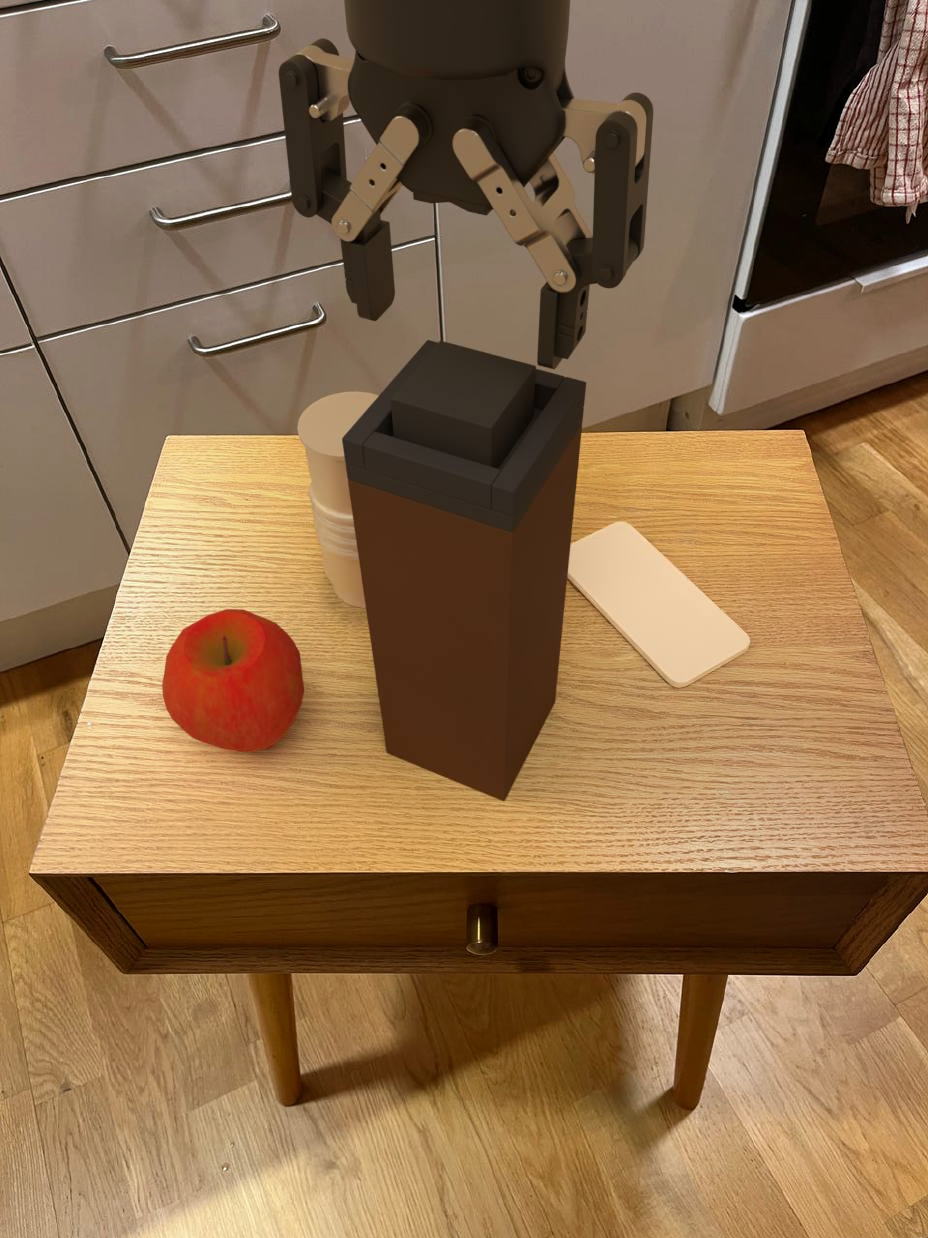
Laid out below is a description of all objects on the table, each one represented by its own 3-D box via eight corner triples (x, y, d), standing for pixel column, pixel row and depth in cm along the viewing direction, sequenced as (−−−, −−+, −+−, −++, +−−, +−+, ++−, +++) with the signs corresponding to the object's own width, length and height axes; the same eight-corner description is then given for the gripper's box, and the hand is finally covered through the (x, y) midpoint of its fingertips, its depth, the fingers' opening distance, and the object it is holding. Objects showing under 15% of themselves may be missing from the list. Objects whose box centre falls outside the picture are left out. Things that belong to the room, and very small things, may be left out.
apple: (180, 795, 62) (133, 697, 54) (199, 688, 67) (159, 585, 59) (313, 789, 62) (286, 691, 54) (321, 683, 68) (298, 579, 59)
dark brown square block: (533, 417, 47) (536, 365, 44) (491, 480, 44) (491, 427, 42) (441, 391, 48) (439, 339, 46) (394, 450, 45) (389, 398, 43)
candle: (395, 536, 77) (380, 380, 65) (428, 595, 73) (417, 439, 61) (313, 562, 75) (283, 405, 64) (342, 624, 71) (314, 469, 60)
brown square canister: (555, 702, 66) (587, 381, 46) (504, 802, 61) (514, 491, 41) (443, 660, 69) (427, 338, 49) (386, 753, 64) (341, 438, 44)
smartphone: (677, 687, 66) (549, 554, 74) (675, 693, 67) (549, 560, 75) (756, 641, 68) (624, 517, 77) (754, 648, 69) (623, 524, 77)
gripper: (190, -121, 29) (278, 340, 42) (636, -68, 25) (586, 427, 38) (318, -175, 34) (363, 258, 46) (717, -137, 29) (648, 327, 42)
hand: (463, 333), depth 42 cm, fingers open, 8 cm apart
